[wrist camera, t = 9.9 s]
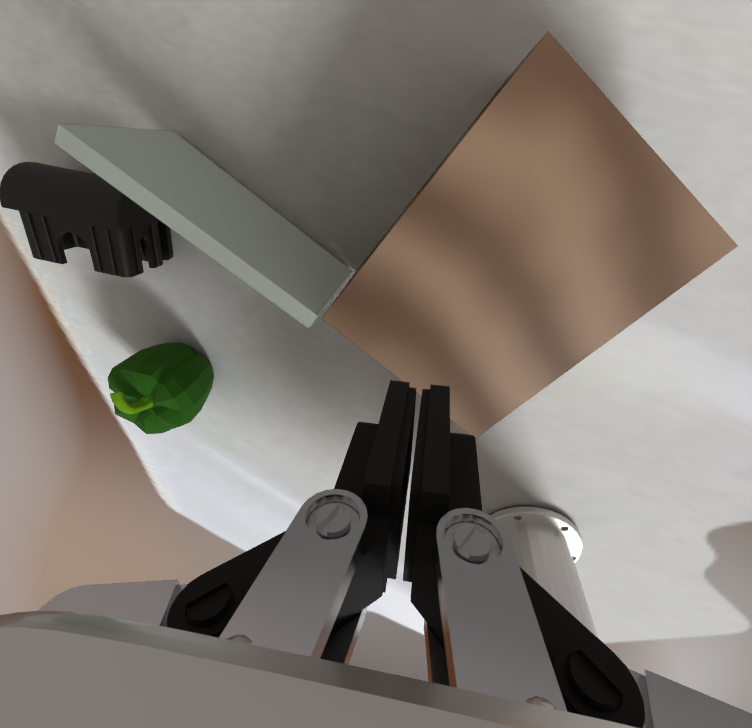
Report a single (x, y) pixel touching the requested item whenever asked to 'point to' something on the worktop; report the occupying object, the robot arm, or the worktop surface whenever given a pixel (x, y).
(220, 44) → the worktop surface
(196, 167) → the door
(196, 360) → the bell pepper
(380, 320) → the cabinet
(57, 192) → the end cap
